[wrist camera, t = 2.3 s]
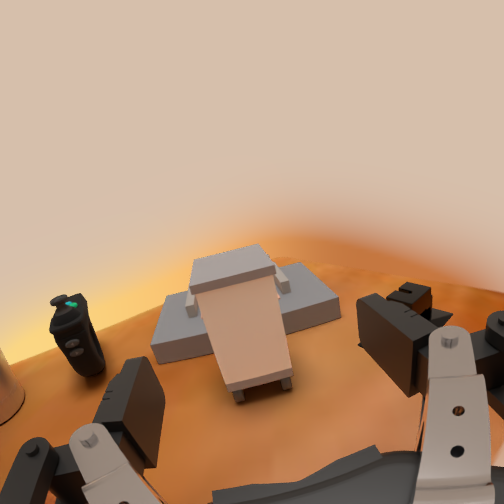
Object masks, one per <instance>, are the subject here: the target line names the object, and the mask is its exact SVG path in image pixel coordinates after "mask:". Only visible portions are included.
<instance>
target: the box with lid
mask: <svg viewBox="0 0 504 504" xmlns="http://www.w3.org/2000/svg"><path fill="white" fill-rule="evenodd" d="M274 274H277V273H276V269H275V264H274V263H273V262H272V261H271V259H270V258H269V257H268V256H267V254H266V253H265V252H264V250H263V249H262V248H261V247H260V245H259V244H255V245H251V246H247V247H243V248H239V249H235V250H231V251H227V252H223V253H219V254H215V255H211V256H207V257H203V258H199V259H195V260H194V262H193V267H192V273H191V278H190V283H189V288H190V292H191V295H196V299H197V302H198V305H199V308H200V311H201V315H202V318H203V321H204V324H205V327H206V330H207V333H208V336H209V339H210V342H211V345H212V348H213V351H214V354H215V357H216V359H217V362H218V365H219V368H220V371H221V374H222V376H223V379H224V382H225V385H226V387H227V390H228V392H232V393H233V396H234V399H235V401H236V402H240V401H245V396H244V392H243V389H245V388H249V387H253V386H257V385H261V384H265V383H269V382H272V381H276V380H280V383H281V386H282V389H283V390H287V389H290V388H292V383H291V379H290V376H293V370H292V365H291V360H290V355H289V350H288V345H287V340H286V335H285V330H284V325H283V320H282V315H281V311H280V306H279V301H278V296H277V291H276V286H275V282H274V277H273V275H274Z"/></svg>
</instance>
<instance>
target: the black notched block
mask: <svg viewBox="0 0 504 504" xmlns="http://www.w3.org/2000/svg"><path fill="white" fill-rule="evenodd" d="M386 300H387V301H395V302H399V303H402V304H404V305H405V306H407V307H408V308H410V309H411V310H413V311H415V312H416V313H417V314H418V315H420V316H422V317H423V318H425V319H426V320H428V321H429V322H431V323H432V324H434V325H435V326H437V327H438V328H440V327H443V326H444V325H445V323H446V322H447V321H448V320H449V319H450V318H451V316H452V315H453V313H449V312H445V311H441V310H437V309H434V308H432V295H431V287H427V286H423V285H418V284H414V283H410V282H406V283H405V284H403V285H402V286H401V287H399V291H396V290H395V291H394V292H392V293H391V294H390V295H388V296H387V297H386ZM358 346H360V347H362V348H363V346H362V344H361V342H360V343H359V344H358Z"/></svg>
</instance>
